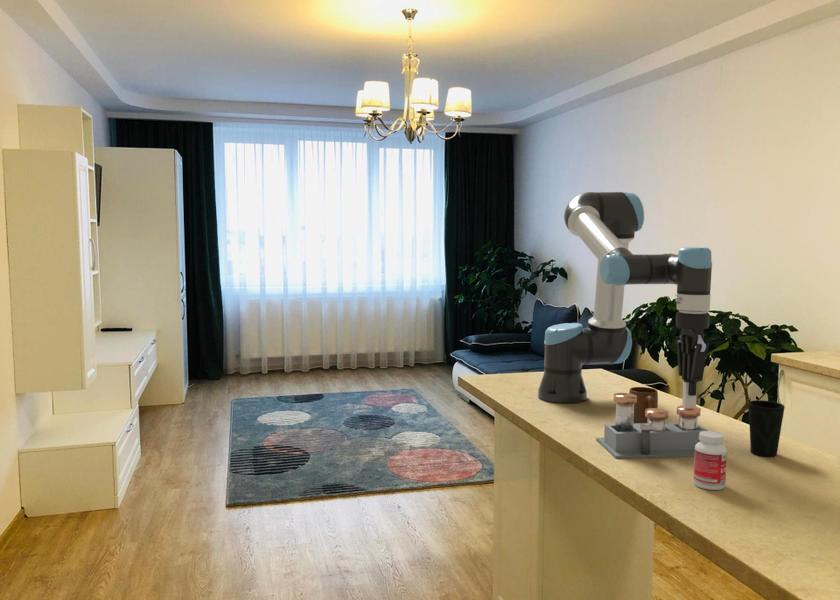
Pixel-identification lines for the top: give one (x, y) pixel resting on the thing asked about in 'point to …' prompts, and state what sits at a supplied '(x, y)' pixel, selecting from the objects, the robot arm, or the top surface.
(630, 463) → the top surface
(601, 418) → the top surface
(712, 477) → the pill bottle
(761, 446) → the cup
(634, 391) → the mug
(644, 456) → the mount
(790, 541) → the top surface
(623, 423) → the knob
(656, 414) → the knob mid
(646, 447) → the pot post
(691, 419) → the knob
